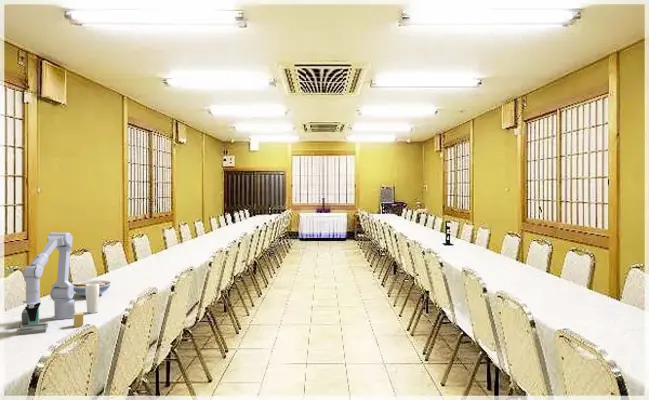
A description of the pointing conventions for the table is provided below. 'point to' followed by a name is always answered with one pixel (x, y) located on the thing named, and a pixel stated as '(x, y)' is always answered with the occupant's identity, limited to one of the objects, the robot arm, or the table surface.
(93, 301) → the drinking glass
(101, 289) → the ramen bowl
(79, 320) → the ochre block
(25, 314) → the silver unit
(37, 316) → the teal block
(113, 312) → the table surface
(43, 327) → the slate tray
